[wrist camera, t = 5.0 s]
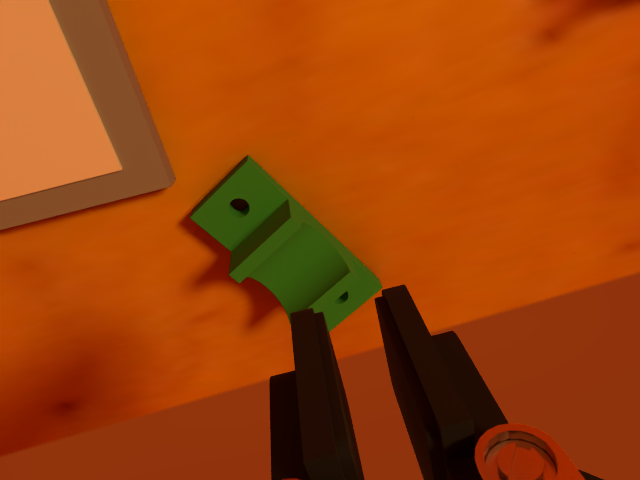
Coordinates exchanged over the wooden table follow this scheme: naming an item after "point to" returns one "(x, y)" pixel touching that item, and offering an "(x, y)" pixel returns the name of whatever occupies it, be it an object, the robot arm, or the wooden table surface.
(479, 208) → the wooden table surface
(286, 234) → the pipe clamp
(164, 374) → the wooden table surface
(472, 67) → the wooden table surface
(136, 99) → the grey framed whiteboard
